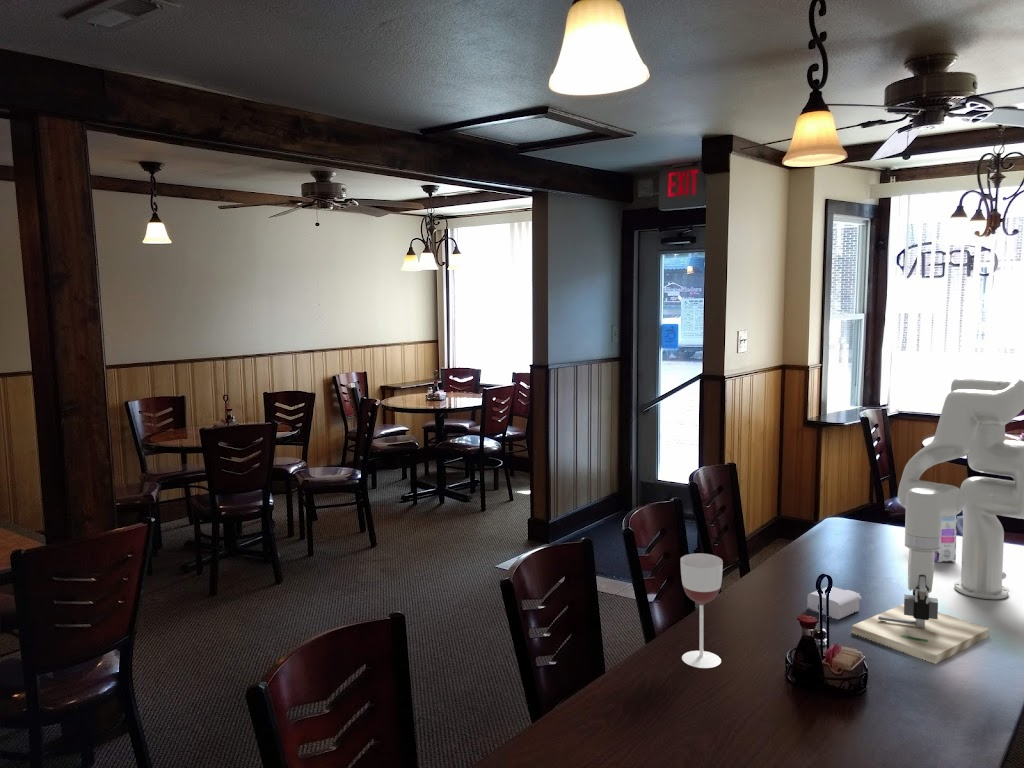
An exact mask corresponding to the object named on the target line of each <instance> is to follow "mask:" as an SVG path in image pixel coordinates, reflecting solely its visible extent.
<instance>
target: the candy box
mask: <svg viewBox="0 0 1024 768" xmlns="http://www.w3.org/2000/svg"><path fill="white" fill-rule="evenodd" d="M957 525H958V514H957V515H955V516H952V517H942V521H941V549H940V550H939V551H935V557H934V562H937V563H956V559H957V557H956V555H957V553H956V551H957V530H958V529H957V528H958V526H957Z"/></svg>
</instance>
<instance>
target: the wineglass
mask: <svg viewBox="0 0 1024 768" xmlns="http://www.w3.org/2000/svg"><path fill="white" fill-rule="evenodd" d="M723 564H724V562H723V559H722V558H721V557H719V556H717V555H713V554H710V553H702V552H700V553H690V554H685V555H683V556H681V557H680V576H681V582H682V583H681V584H682V588H683V591H684V593H685V595H686V596H687V597H688V598H689V599H690V600H691V601H693V602H695V603H697V604H699V610H698V611H699V617H698V618H699V620H698V621H699V625H698V626H699V630H698V631H699V635H698V636H699V638H698V639H699V640H698V641H699V645H698V646H699V650H690V651H687V652H685V653H684V654H683V655H682V656H681V660H682V661H683V662H684V663H685V664H687V665H688V666H691V667H693V668H698V669H710V668H711V669H712V668H715V667H717V666H719V665H720V664H721V663H722V659H721V658H720V657H719V655H717V654H715V653H713V652H711V651H706V650H704V605H706V604H708V603H710V602H712V601H713V600H714V599H716V598H717V597H718V595H719V592H720V590H721V587H722V581H723V580H722V579H723V566H724V565H723Z"/></svg>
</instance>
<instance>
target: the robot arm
mask: <svg viewBox="0 0 1024 768" xmlns="http://www.w3.org/2000/svg"><path fill="white" fill-rule="evenodd" d="M1023 410H1024V380H1022V379H1019V378H1012V377H992V376H976V375H973V376H969V375H968V376H960V377H956V378H955V379H953V381H952V382H951V386H950V392H949V393H948V394H947V395H946V397H945V400H944V402H943V407H942V408H941V413H940V416H939V419H938V424H937V427H936V430H935V432H934V433H935V434H934V437H933V440H932V441H931V442H930V443H928V444H927V445H926V446H924V447H923V448H921V449H919V450H918V451H917V452H916V453H915V454H914V455H913V456H912V457H911V458H910V459H908V462H907V463H906V464H905V466H904V469H903V471H902V475H901V479H900V482H899V485H898V490H897V500H898V503H899V504H900V506H902V507H903V508H904V509H905V518H904V519H905V520H904V521H905V523H904V524H905V525H904V547H906V548H907V549H908V560H907V561H908V563H907V564H908V565H907V587H908V590H909V591H912V595H914V596H915V601H914V609H913V617H914V618H915V619H922V620H929V603H928V597H929V594H930V593H932V590H933V584H934V583H933V582H934V573H935V572H934V571H935V561H934V557H935V551H939V550H940V549H941V521H942V517H952V516H955V515H957V516H958V515H959V514H960V513H961V512H962V541H961V542H962V543H961V546H962V547H961V548H962V549H961V570H960V572H961V573H960V580H956V581H955V582H954V586H953V587H954V589H955V590H956V591H957V592H959V593H961V594H963V595H966V596H969V597H973V598H975V599H976V598H977V599H983V600H1001V599H1005V598H1007V597H1008V596H1009V589H1007V587H1005V586H1003V580H1004V579H1006V578H1007V574H1006V572H1004V571H1003V566H1004V565H1003V563H1004V547H1005V546H1004V541H1005V540H1004V539H1005V531H1004V527H1003V525H1002V523H1001V521H1000V519H998V517H997V516H1001V517H1008V518H1013V519H1014V518H1015V519H1021V520H1022V519H1023V520H1024V440H1015V439H1013V440H1012V439H1008V438H1006V425H1007V424H1009V423H1010V422H1011V421H1013V420H1014V418H1016V417H1017V416H1018V415H1019V414H1020V413H1021V412H1022V411H1023ZM965 457H967V464H968V466H969V468H970V469H971V470H972V471H975V472H979V473H981V474H982V473H984V474H990V475H998V476H1005V477H1011V478H1012V479H1013V480H1009V479H1001V478H994V477H988V476H970V477H967V478H966V479H964V480H963V481H962V483H961V485H960V487H958V486H955V485H952V484H945V483H937V482H933V481H928V480H920V478H921V476H922V475H923V473H925V472H926V471H927V470H928V469H929V468H931V467H934V466H935V465H938V464H941V463H946V462H949V461H952V460H953V461H954V460H956V459H960V458H965Z"/></svg>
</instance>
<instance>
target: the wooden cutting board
mask: <svg viewBox="0 0 1024 768" xmlns="http://www.w3.org/2000/svg"><path fill="white" fill-rule="evenodd" d="M878 616H883V617H890V618H897V619H904V620H911V621H915V622H916V619H915V618H914V617H913V616H909V615H904V603H902V604H899V605H898V606H895V607H893V608H891V609H887V610H886V611H885V610H884V612H880V613H879V614H875V615H874V616H872V617H869V618H867V619H864V620H862V621H860V622H857V623H855V624H852V625H851V634H852V633H854V634H853V635H855V634H856V635H855V636H857V635H859V636H858V637H860V636H862V637H861V638H863V637H864V638H863V639H865V638H867V639H866V640H868V639H869V640H868V641H871V640H872V641H871V642H874V641H875V642H874V643H876V642H877V644H879V643H881V644H880V645H882V644H883V645H882V646H884V645H885V647H887V646H888V647H887V648H890V647H891V648H890V649H894V650H896V651H899V652H902V653H903V652H904V654H907V655H909V656H911V657H914V658H917V659H920V660H922V659H923V661H925V660H926V662H928V663H931V662H932V663H931V664H933V663H935V664H934V665H937V664H939V663H941V662H943V661H945V660H947V659H948V657H949V658H951V657H952V655H953V656H954V655H956V654H958V653H960V652H962V651H964V650H966V649H968V648H970V647H972V646H973V645H975V644H977V643H979V642H981V641H983V640H985V639H987V638H989V637H990V627H986V626H984V625H980V624H977V623H974V622H970V621H968V620H965V619H961V618H958V617H954V616H951V615H948V614H945V613H941V612H939V611H938V619H931V618H929V620H925V627H924V628H919V627H916V626H915V625H913V624H906V623H899V622H892V621H885V620H878ZM950 656H951V657H950ZM946 658H947V659H946ZM944 659H945V660H944ZM942 660H943V661H942ZM940 661H941V662H940ZM938 662H939V663H938ZM936 663H937V664H936Z"/></svg>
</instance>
